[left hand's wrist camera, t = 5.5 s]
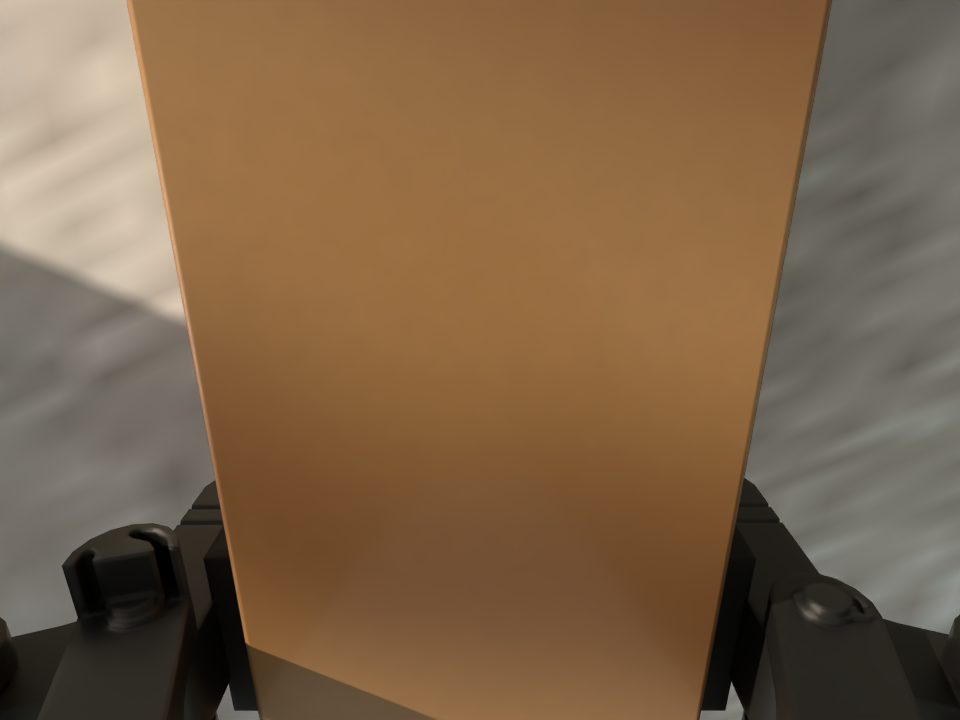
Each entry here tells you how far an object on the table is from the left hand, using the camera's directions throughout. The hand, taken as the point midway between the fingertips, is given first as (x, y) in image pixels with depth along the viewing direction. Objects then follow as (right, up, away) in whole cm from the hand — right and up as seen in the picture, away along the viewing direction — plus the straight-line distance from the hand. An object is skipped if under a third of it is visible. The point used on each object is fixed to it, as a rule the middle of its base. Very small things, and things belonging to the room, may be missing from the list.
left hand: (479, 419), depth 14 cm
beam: (0, +33, -13) cm, 35 cm away
